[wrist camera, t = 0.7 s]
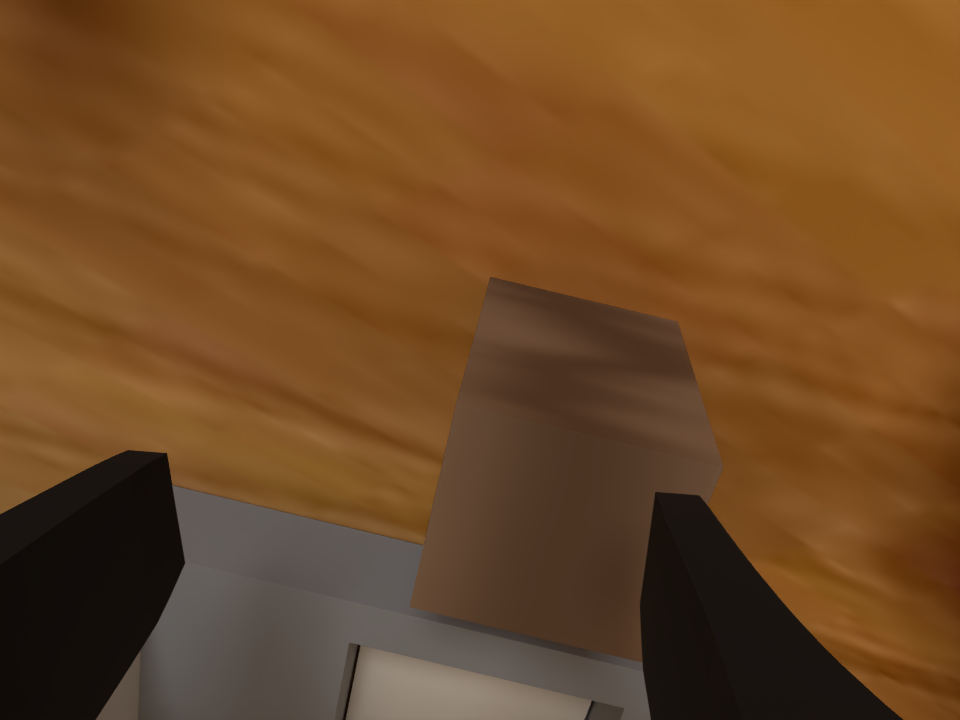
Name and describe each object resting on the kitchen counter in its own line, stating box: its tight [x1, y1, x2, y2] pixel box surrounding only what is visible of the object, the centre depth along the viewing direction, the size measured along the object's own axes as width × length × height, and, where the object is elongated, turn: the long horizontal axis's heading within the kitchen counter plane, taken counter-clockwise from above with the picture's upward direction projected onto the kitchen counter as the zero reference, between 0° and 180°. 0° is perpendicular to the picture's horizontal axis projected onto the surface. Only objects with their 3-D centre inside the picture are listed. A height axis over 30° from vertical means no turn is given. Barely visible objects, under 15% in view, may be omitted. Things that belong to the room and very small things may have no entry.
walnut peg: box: [410, 277, 723, 663], centre depth 19 cm, size 5×5×7 cm
